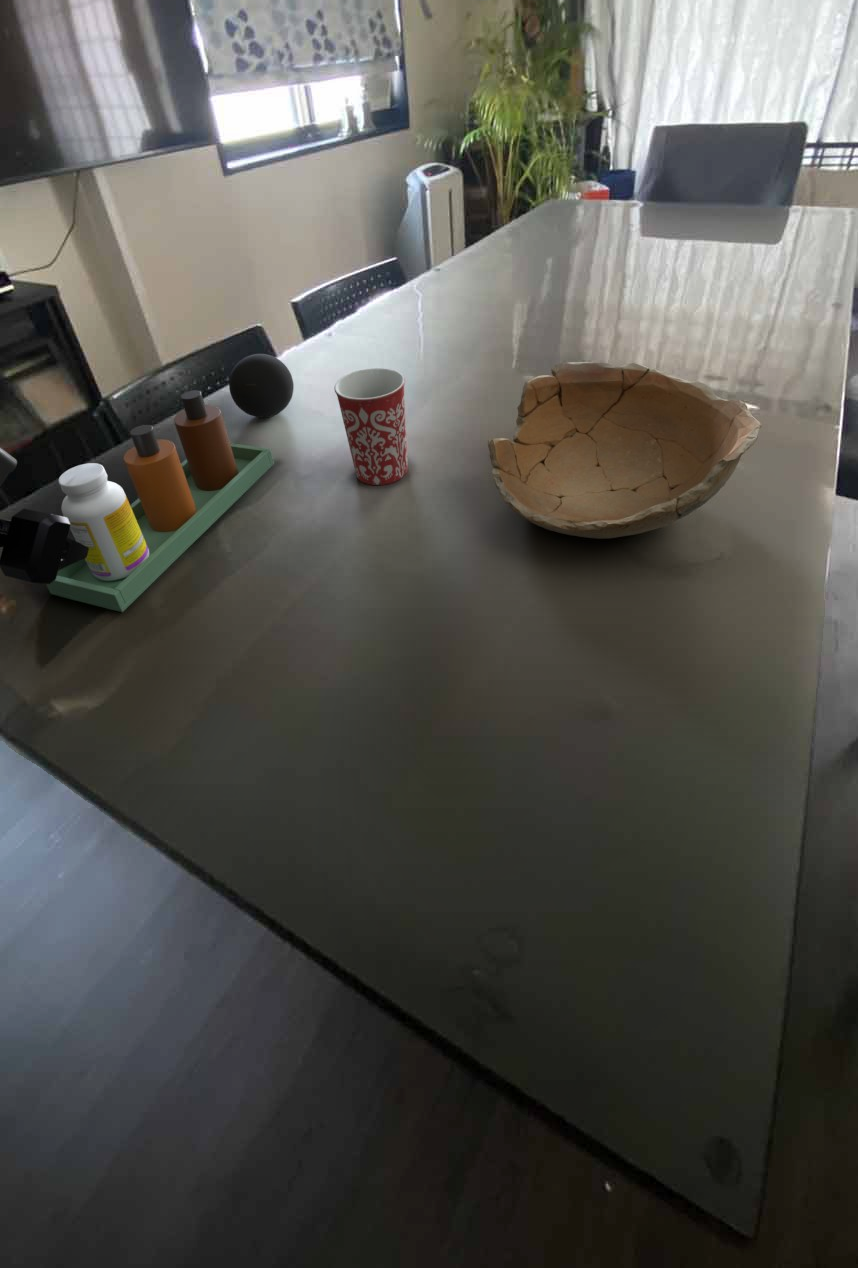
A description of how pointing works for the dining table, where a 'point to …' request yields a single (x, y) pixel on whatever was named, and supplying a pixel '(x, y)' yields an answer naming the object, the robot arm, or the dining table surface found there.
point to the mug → (375, 423)
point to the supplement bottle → (102, 522)
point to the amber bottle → (159, 480)
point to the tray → (163, 537)
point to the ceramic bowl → (617, 449)
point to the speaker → (261, 385)
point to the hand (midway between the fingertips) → (53, 545)
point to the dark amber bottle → (205, 443)
